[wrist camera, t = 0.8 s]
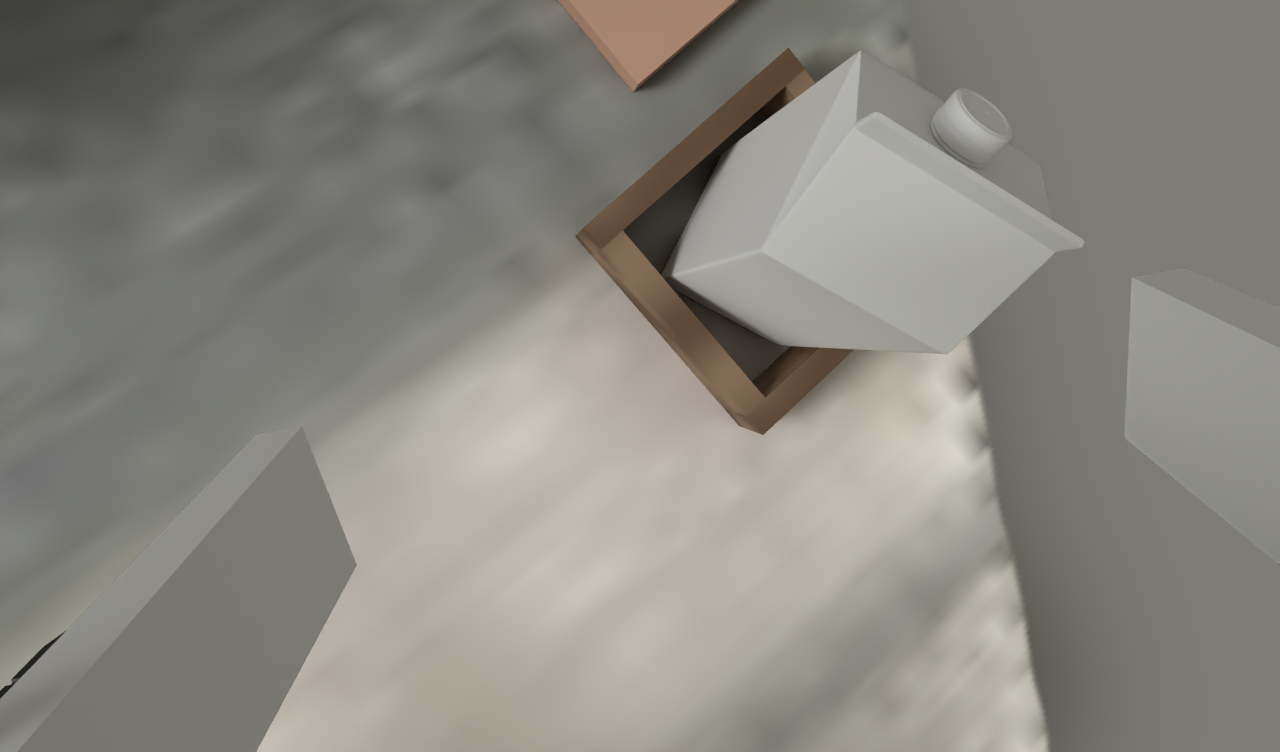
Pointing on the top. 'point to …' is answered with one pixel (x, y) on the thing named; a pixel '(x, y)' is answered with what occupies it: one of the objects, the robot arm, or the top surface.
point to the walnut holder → (662, 305)
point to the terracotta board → (643, 30)
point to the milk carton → (868, 218)
